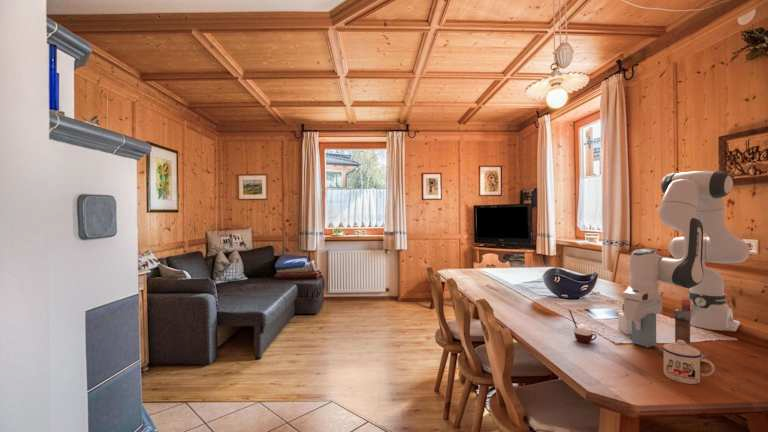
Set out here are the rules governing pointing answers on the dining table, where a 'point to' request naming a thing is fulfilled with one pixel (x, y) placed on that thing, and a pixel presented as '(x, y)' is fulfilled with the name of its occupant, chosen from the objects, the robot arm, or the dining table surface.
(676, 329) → the post
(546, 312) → the dining table surface
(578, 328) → the brown and white cup
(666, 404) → the dining table surface
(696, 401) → the dining table surface
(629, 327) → the medicine bottle
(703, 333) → the dining table surface
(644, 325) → the grey blue rectangular block
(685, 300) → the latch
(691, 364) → the teacup with lid
